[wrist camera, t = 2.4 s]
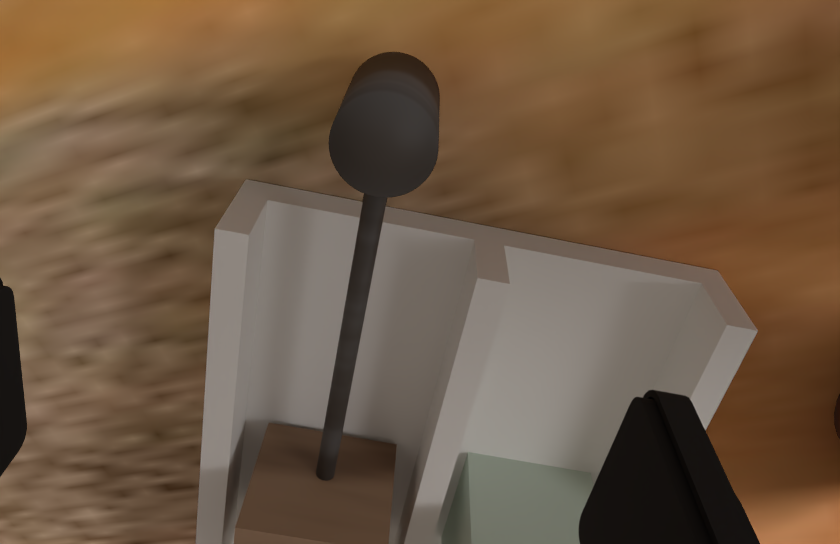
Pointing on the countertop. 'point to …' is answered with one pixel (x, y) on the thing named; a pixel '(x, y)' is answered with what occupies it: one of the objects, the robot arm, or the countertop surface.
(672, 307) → the white tray
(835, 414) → the food container
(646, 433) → the robot arm
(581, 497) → the sage block
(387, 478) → the brown block with stick
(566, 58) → the countertop surface
